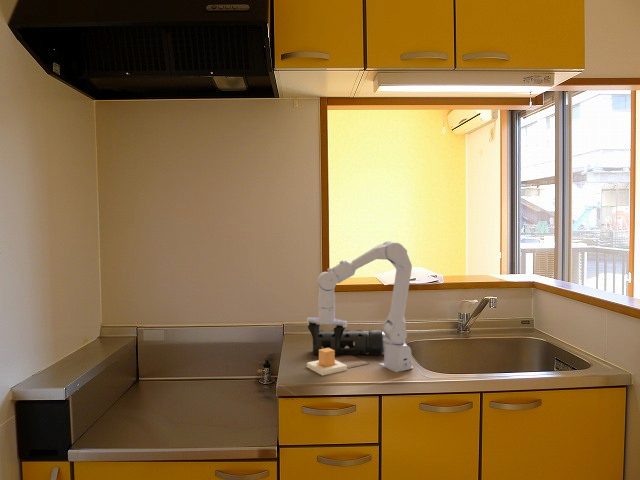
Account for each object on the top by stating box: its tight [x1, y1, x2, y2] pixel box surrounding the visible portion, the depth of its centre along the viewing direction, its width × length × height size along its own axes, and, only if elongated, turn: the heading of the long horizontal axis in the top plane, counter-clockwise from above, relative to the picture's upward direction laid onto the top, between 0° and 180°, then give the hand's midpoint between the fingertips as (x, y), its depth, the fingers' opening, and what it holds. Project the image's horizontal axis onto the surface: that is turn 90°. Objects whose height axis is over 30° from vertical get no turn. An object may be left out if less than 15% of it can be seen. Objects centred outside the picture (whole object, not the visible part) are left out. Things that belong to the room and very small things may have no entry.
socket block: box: [306, 359, 348, 376], centre depth 158 cm, size 10×10×2 cm
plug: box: [318, 348, 336, 368], centre depth 158 cm, size 4×4×6 cm
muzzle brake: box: [312, 329, 386, 356], centre depth 176 cm, size 10×28×10 cm
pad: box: [335, 354, 370, 369], centre depth 165 cm, size 12×9×1 cm
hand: (326, 345), depth 157 cm, fingers open, 7 cm apart
